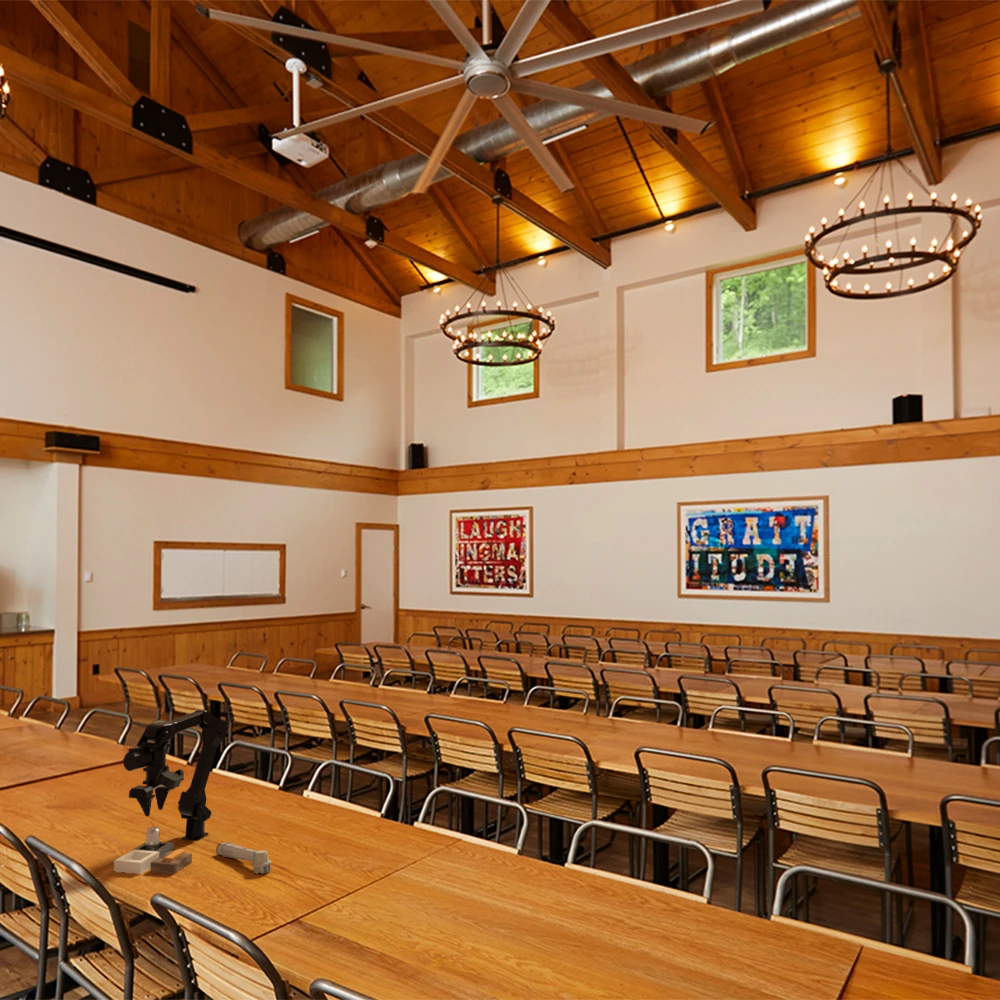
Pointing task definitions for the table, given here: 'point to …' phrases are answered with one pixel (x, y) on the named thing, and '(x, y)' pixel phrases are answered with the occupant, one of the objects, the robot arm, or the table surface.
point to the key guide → (170, 864)
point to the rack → (135, 861)
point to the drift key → (174, 855)
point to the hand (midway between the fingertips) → (154, 812)
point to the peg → (152, 838)
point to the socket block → (162, 850)
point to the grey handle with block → (246, 856)
